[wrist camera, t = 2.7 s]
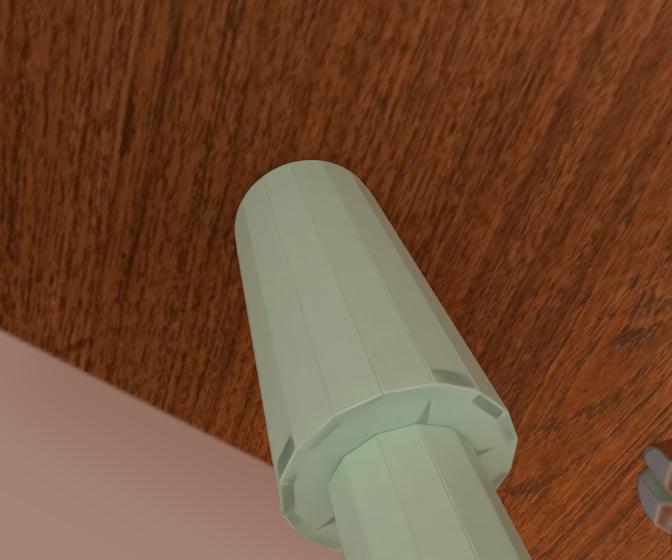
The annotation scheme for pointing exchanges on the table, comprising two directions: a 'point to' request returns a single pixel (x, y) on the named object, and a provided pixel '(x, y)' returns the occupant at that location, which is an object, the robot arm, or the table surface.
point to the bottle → (367, 380)
